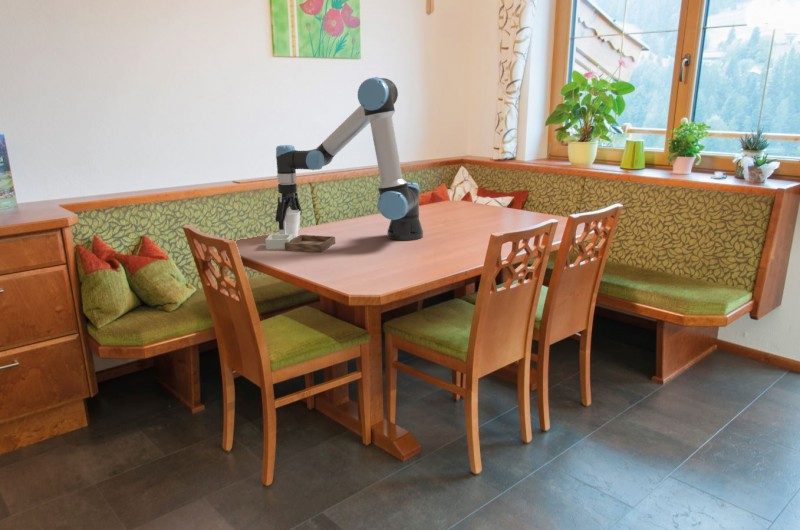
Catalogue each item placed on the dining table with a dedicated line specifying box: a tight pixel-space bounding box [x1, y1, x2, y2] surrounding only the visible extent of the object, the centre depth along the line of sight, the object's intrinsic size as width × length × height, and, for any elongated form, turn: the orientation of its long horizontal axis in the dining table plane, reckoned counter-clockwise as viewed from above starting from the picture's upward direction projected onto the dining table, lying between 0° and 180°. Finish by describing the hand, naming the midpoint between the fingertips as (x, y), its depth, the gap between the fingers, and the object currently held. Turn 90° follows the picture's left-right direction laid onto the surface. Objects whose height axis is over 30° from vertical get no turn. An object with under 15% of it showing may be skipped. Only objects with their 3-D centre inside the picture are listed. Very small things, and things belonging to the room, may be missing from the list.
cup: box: [284, 209, 302, 239], centre depth 255 cm, size 10×10×11 cm
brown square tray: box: [284, 234, 336, 253], centre depth 240 cm, size 15×15×3 cm
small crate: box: [264, 233, 293, 251], centre depth 240 cm, size 9×9×4 cm
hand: (290, 233), depth 256 cm, fingers open, 13 cm apart
